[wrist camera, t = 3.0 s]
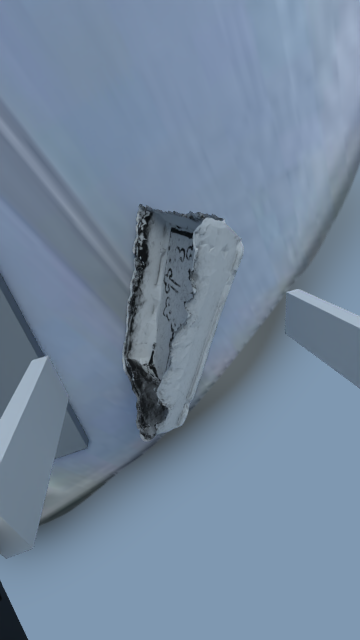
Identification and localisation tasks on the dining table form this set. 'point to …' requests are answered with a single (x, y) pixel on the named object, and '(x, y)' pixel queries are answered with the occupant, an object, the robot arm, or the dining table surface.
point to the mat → (14, 359)
